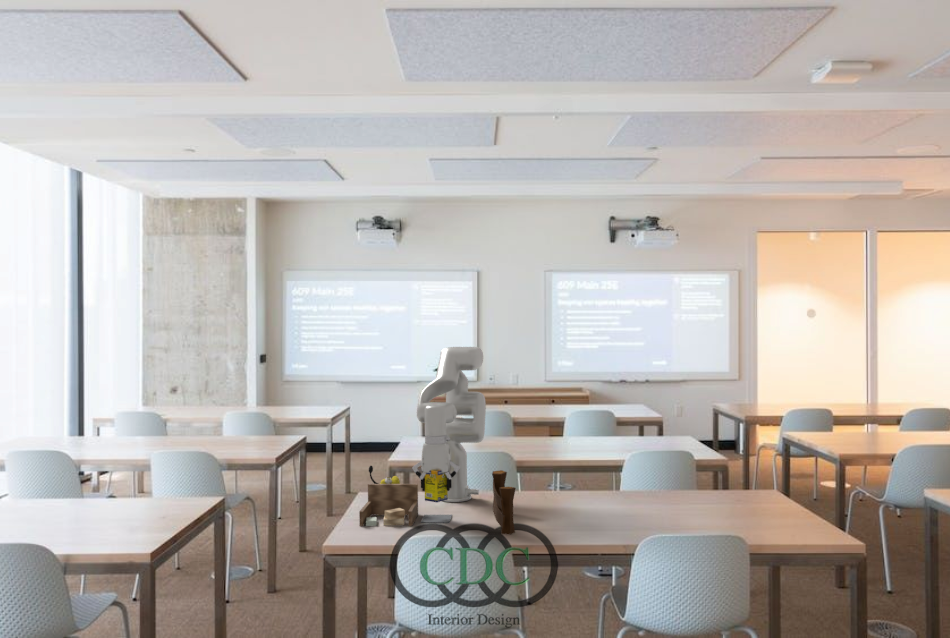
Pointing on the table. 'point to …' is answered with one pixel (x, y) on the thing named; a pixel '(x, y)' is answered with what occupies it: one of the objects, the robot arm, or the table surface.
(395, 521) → the offcut
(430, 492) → the supplement box
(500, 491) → the decorative fence
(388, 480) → the toy
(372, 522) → the offcut
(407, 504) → the rack
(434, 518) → the pad
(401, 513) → the offcut
